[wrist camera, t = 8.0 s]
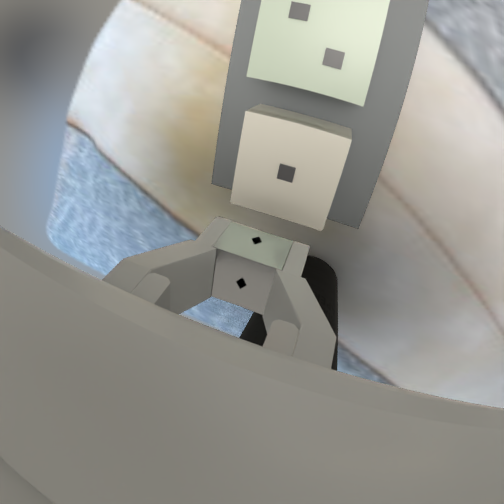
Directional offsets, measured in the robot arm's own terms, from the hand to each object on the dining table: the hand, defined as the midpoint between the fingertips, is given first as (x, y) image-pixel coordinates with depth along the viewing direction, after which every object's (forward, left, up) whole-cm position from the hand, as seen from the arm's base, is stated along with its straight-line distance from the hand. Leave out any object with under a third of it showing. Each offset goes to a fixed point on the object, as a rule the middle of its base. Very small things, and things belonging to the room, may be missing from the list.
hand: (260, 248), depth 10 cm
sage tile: (+5, -5, -9) cm, 11 cm away
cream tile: (0, 0, -10) cm, 10 cm away
